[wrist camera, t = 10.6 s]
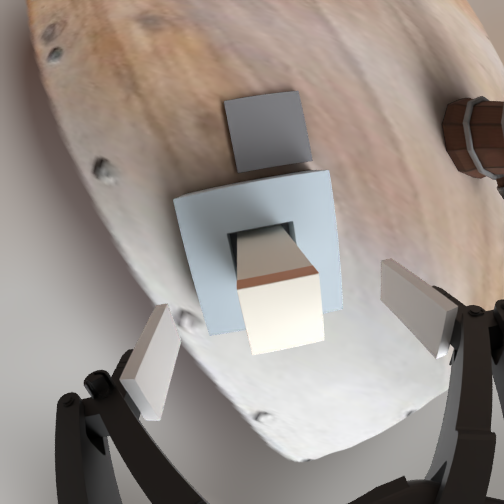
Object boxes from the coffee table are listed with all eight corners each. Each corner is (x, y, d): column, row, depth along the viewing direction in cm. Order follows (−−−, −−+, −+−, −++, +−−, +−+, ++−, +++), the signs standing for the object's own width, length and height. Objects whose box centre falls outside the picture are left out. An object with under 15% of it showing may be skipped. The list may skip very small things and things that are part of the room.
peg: (237, 232, 28) (236, 290, 14) (280, 224, 28) (319, 273, 14) (245, 273, 29) (252, 355, 16) (286, 264, 29) (324, 340, 16)
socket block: (185, 193, 29) (172, 199, 23) (311, 170, 29) (329, 170, 23) (213, 308, 33) (209, 335, 27) (326, 286, 33) (342, 308, 27)
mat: (224, 103, 26) (223, 101, 25) (296, 93, 26) (298, 90, 25) (237, 173, 29) (237, 173, 28) (310, 161, 29) (312, 160, 28)
